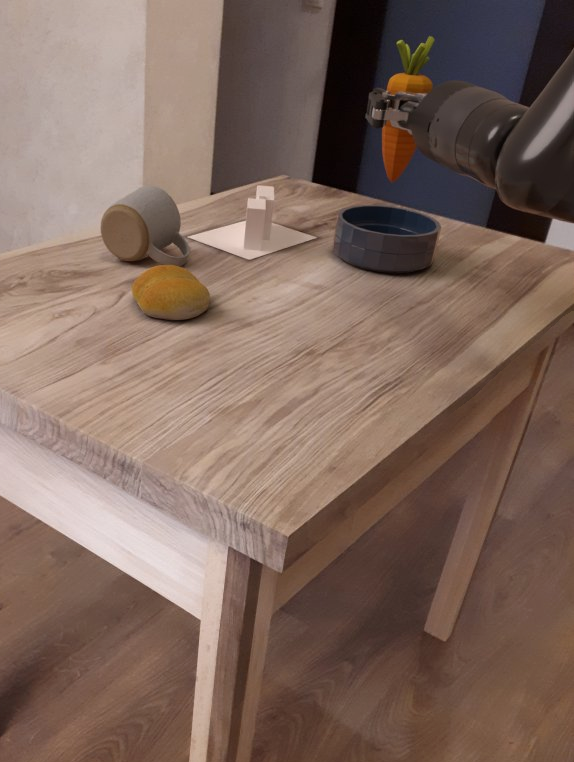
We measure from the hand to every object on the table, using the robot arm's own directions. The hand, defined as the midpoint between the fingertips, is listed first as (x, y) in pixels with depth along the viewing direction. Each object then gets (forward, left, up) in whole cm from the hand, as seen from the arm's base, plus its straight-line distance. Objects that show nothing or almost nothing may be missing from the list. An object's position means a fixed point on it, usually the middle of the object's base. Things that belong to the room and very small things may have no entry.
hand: (397, 98), depth 91 cm
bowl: (-4, -2, -20) cm, 20 cm away
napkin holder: (+8, -15, -20) cm, 26 cm away
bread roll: (+30, +2, -20) cm, 36 cm away
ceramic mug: (+25, -13, -20) cm, 34 cm away
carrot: (+1, +3, -9) cm, 9 cm away
